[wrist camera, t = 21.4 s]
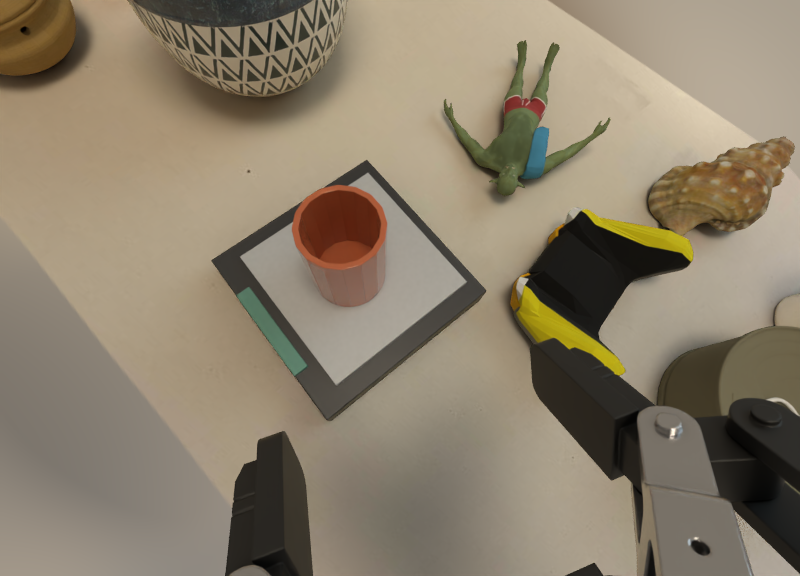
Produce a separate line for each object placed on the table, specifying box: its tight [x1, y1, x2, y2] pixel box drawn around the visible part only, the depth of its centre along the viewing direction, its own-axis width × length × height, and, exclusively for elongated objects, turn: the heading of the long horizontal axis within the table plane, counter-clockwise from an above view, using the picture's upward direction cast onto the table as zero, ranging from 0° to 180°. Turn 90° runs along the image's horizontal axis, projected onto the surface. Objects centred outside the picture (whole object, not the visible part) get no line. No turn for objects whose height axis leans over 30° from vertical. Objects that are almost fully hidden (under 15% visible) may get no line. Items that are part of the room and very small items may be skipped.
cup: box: [292, 185, 387, 307], centre depth 29 cm, size 6×6×8 cm
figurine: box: [444, 40, 611, 196], centre depth 40 cm, size 16×4×18 cm
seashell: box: [648, 137, 795, 236], centre depth 38 cm, size 9×8×10 cm
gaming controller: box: [511, 207, 693, 376], centre depth 34 cm, size 15×6×10 cm
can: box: [658, 326, 800, 494], centre depth 30 cm, size 12×12×7 cm
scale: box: [212, 160, 486, 421], centre depth 34 cm, size 16×16×3 cm
